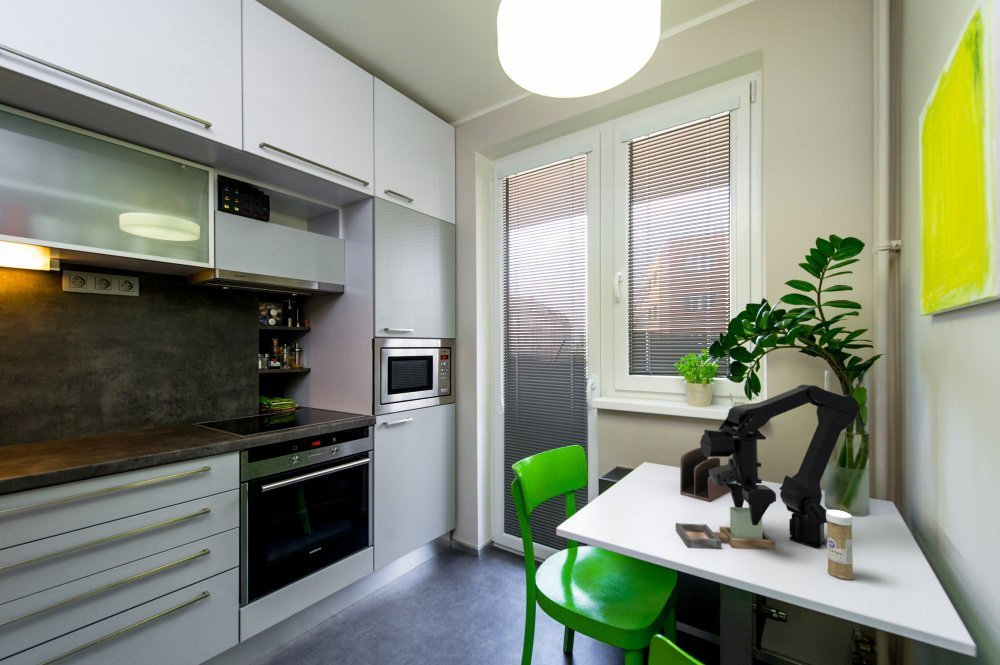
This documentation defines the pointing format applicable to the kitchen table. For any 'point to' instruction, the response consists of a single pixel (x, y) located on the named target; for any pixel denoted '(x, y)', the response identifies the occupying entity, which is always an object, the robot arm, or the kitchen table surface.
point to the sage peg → (744, 524)
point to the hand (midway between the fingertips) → (746, 517)
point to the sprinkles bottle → (839, 544)
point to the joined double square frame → (719, 538)
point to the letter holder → (699, 477)
